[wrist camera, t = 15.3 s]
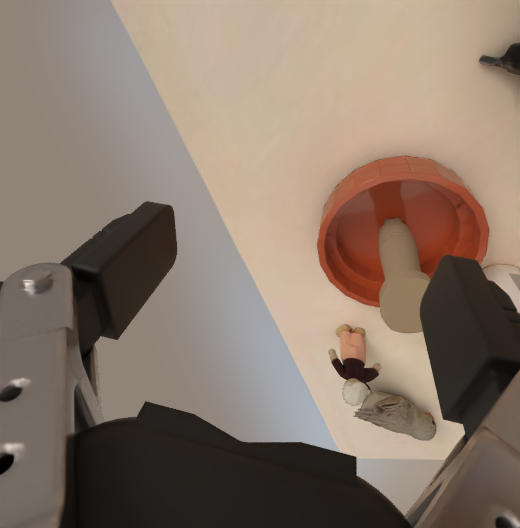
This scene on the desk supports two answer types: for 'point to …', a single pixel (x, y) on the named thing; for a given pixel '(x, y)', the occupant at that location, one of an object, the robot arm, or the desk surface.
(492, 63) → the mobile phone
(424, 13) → the desk surface
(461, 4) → the desk surface
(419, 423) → the decorative bird
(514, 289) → the spray bottle
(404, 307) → the handle
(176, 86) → the desk surface
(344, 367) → the grandmother figurine
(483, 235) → the bowl
